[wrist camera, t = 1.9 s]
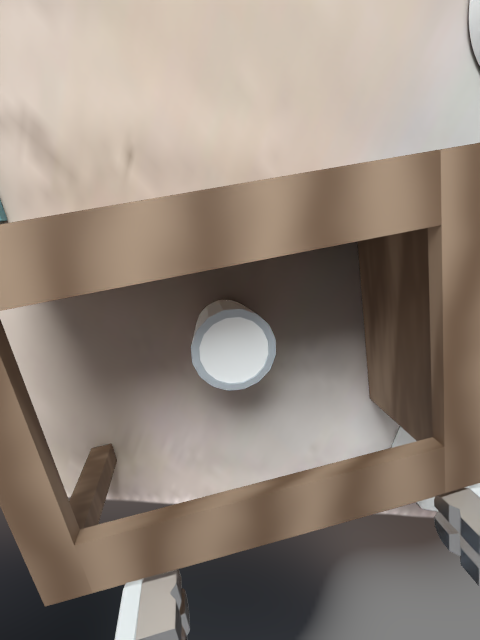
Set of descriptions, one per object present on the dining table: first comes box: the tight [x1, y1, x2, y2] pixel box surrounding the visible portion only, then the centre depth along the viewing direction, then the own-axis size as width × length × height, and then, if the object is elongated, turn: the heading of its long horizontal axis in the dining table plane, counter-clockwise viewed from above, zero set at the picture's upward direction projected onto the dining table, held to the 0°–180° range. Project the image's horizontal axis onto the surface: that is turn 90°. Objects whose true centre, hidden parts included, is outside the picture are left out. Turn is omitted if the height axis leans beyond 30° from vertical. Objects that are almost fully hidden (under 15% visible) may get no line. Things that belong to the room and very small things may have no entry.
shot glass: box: [191, 300, 276, 391], centre depth 31 cm, size 7×7×7 cm
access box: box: [0, 143, 480, 606], centre depth 27 cm, size 31×23×14 cm
